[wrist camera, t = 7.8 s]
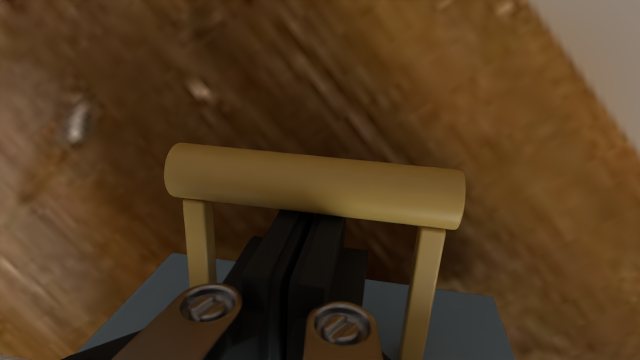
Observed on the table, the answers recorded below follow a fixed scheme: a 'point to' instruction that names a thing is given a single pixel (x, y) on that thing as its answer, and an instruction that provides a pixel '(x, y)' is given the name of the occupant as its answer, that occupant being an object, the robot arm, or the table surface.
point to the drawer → (338, 200)
